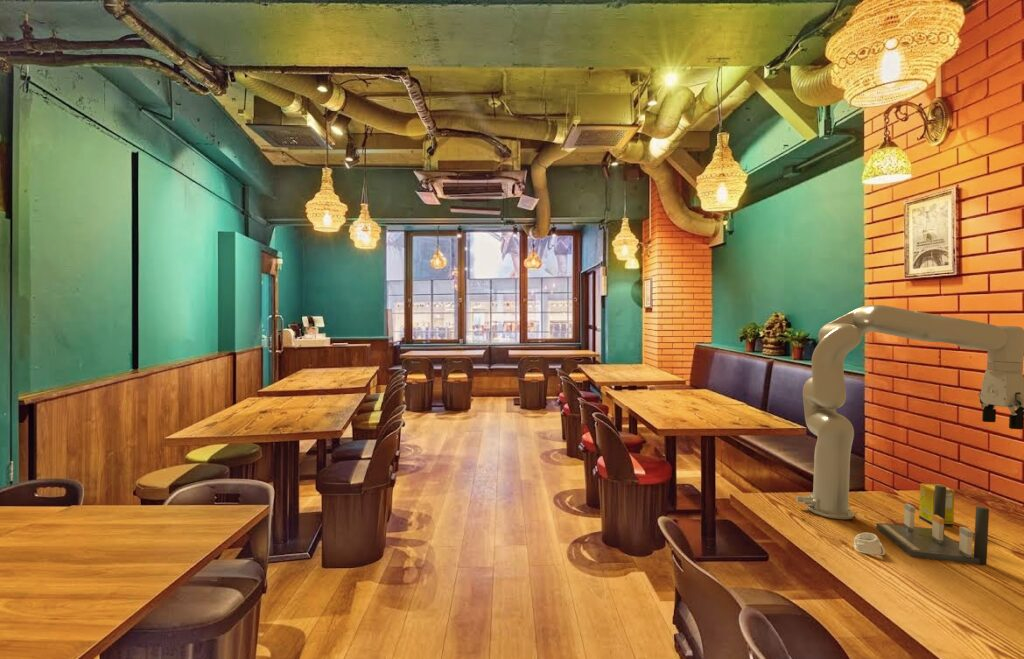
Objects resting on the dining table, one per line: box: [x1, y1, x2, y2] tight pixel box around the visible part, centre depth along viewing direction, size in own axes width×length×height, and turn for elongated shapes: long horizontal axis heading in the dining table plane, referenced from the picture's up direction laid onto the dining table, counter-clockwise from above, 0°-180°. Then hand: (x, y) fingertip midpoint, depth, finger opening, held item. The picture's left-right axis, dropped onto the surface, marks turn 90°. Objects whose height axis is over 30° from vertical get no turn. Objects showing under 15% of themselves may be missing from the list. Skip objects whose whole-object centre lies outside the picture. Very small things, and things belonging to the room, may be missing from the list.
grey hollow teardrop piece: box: [853, 532, 886, 556], centre depth 130 cm, size 8×7×5 cm
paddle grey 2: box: [958, 526, 974, 555], centre depth 126 cm, size 1×3×6 cm, turn 168°
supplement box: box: [918, 483, 955, 527], centre depth 150 cm, size 6×6×11 cm
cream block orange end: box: [931, 514, 945, 541], centre depth 133 cm, size 1×3×6 cm, turn 167°
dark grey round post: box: [934, 484, 990, 566], centre depth 132 cm, size 2×19×14 cm, turn 168°
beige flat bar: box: [903, 503, 916, 528], centre depth 141 cm, size 1×3×6 cm, turn 168°
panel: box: [875, 522, 980, 565], centre depth 134 cm, size 15×18×2 cm
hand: (1001, 425), depth 145 cm, fingers open, 9 cm apart
